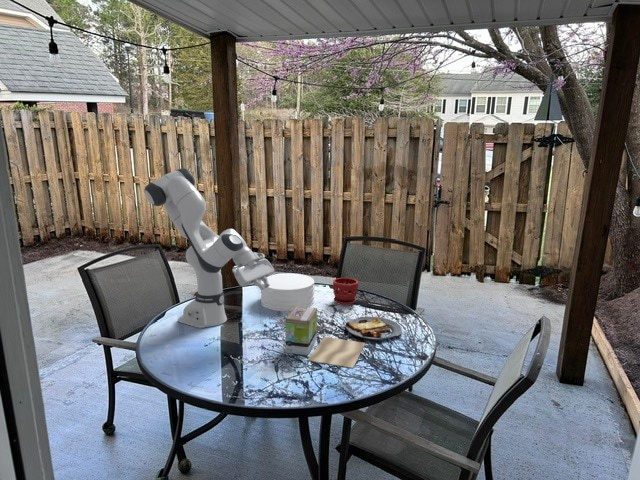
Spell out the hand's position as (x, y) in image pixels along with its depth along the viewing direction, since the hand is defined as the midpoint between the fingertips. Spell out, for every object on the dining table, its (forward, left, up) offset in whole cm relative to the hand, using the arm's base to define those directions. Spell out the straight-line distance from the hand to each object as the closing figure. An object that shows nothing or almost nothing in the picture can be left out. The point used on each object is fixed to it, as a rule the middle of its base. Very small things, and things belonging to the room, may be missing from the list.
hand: (265, 287), depth 184 cm
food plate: (+42, +22, -23) cm, 53 cm away
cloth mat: (+33, -3, -22) cm, 40 cm away
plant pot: (+21, +53, -23) cm, 62 cm away
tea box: (+17, -3, -23) cm, 28 cm away
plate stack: (-8, +44, -23) cm, 50 cm away
